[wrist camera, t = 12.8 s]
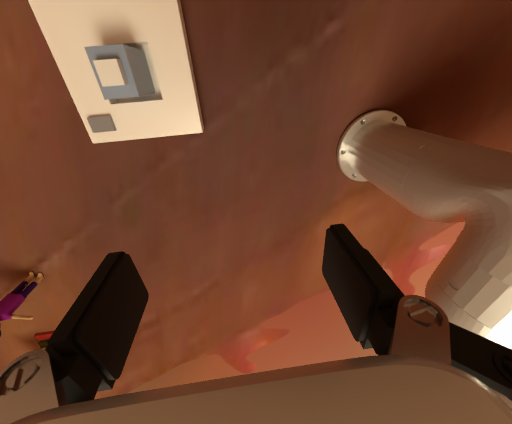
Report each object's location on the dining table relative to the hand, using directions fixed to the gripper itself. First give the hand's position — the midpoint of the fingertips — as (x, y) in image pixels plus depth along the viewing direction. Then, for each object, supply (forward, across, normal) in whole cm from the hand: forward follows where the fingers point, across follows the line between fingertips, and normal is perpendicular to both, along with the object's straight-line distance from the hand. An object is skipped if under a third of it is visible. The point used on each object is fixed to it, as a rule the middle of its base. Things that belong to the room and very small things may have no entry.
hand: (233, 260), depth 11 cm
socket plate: (+30, +12, -9) cm, 34 cm away
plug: (+30, +12, -9) cm, 33 cm away
